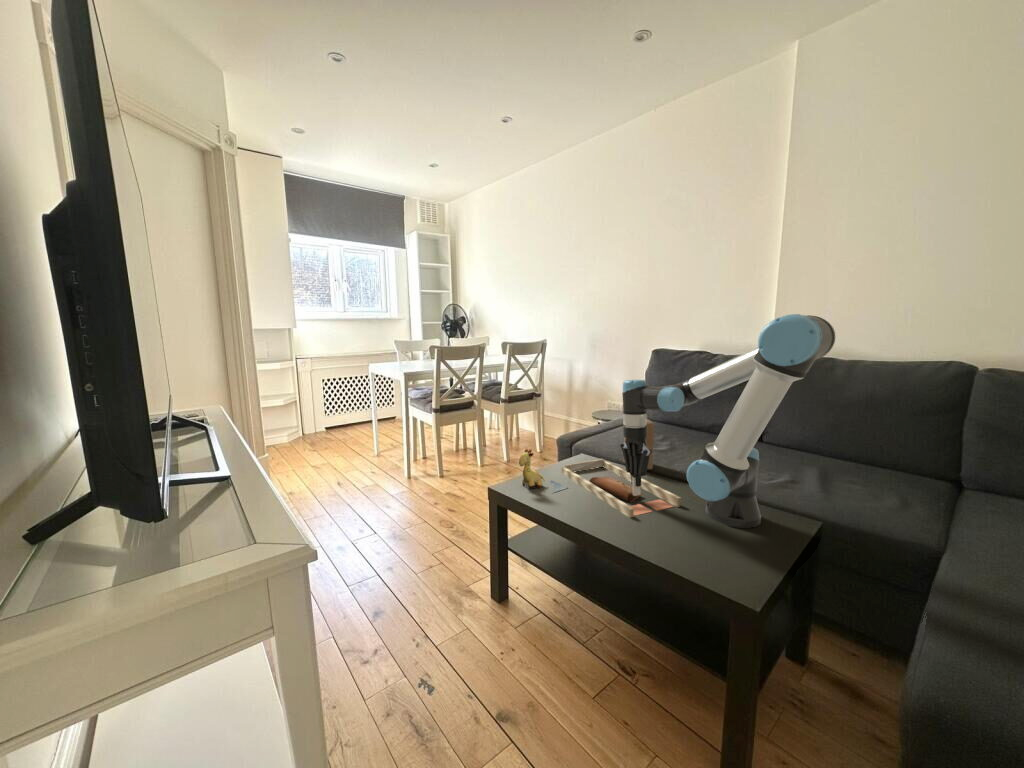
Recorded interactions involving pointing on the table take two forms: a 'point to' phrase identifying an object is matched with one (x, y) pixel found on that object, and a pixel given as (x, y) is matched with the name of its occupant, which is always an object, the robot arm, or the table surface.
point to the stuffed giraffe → (534, 474)
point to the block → (649, 442)
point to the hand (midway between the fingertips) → (636, 494)
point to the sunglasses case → (615, 488)
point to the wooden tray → (612, 500)
